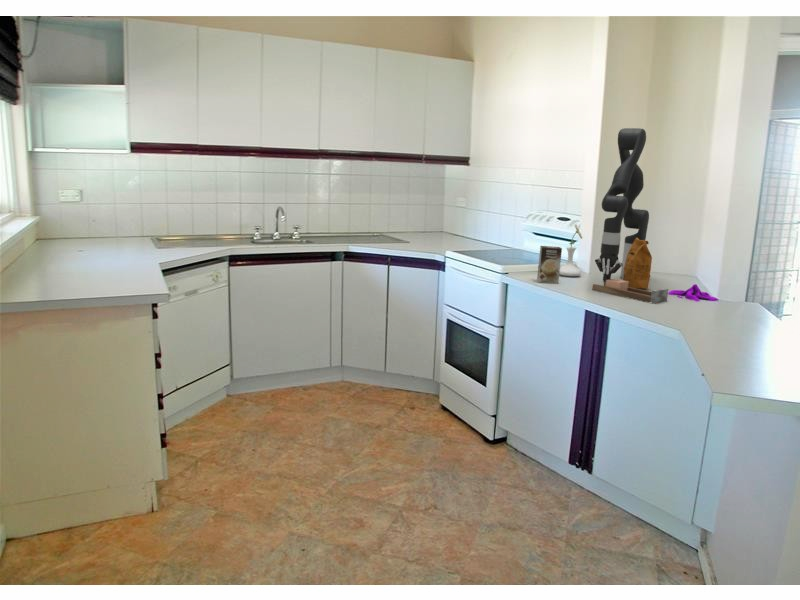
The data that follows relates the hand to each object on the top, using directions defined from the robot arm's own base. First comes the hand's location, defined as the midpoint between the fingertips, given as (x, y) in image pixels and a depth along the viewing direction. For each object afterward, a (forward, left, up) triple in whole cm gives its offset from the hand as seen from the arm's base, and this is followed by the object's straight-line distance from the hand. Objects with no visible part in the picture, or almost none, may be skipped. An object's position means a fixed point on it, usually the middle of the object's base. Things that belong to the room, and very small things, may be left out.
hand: (606, 282), depth 281 cm
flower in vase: (-15, -31, -4) cm, 35 cm away
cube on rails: (0, +11, -4) cm, 11 cm away
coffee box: (+8, -25, -4) cm, 27 cm away
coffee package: (-18, +3, -4) cm, 19 cm away
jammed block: (0, +5, -4) cm, 6 cm away
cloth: (-23, +28, -4) cm, 36 cm away
